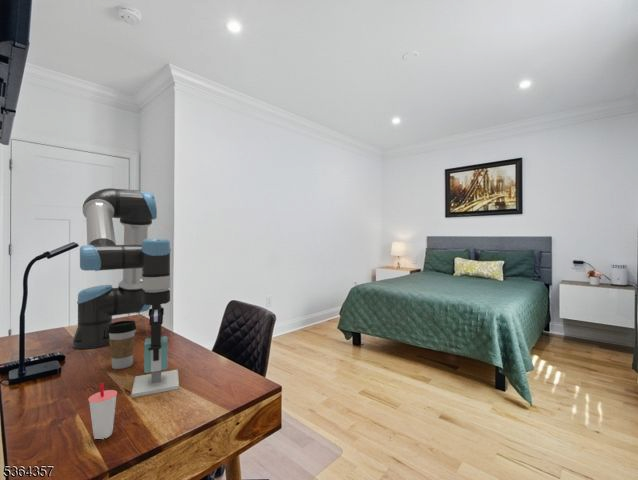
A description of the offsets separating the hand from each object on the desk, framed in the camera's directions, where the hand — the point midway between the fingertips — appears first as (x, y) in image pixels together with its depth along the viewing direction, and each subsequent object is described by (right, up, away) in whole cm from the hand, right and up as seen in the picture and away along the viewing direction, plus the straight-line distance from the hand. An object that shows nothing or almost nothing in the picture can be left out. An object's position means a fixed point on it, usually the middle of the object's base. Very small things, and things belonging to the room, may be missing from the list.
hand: (156, 366), depth 94 cm
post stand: (0, -5, 0) cm, 5 cm away
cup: (+1, -6, -24) cm, 25 cm away
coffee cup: (-19, -5, +13) cm, 24 cm away
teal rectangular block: (0, 0, 0) cm, 0 cm away
